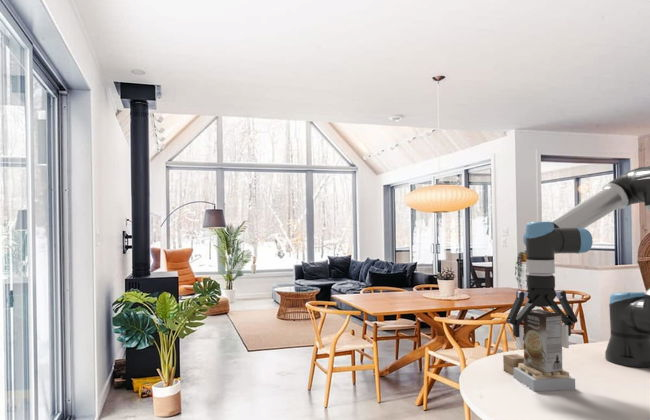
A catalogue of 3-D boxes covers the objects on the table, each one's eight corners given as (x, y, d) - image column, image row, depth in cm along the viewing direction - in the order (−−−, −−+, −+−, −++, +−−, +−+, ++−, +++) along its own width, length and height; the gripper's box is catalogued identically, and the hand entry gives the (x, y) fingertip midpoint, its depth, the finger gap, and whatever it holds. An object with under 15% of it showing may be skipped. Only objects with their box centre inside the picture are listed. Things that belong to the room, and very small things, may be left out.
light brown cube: (517, 369, 153) (517, 354, 153) (527, 374, 148) (527, 358, 149) (503, 371, 152) (503, 355, 152) (513, 375, 147) (513, 359, 147)
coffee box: (522, 364, 143) (521, 310, 144) (539, 362, 145) (538, 308, 146) (546, 373, 134) (544, 315, 135) (564, 370, 137) (562, 313, 137)
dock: (551, 376, 146) (551, 366, 146) (575, 389, 134) (575, 378, 134) (513, 377, 145) (513, 367, 145) (533, 391, 133) (533, 380, 133)
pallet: (550, 367, 145) (550, 362, 145) (569, 377, 135) (569, 372, 135) (518, 368, 144) (518, 363, 144) (535, 378, 134) (534, 373, 134)
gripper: (574, 272, 145) (575, 343, 145) (493, 273, 144) (495, 345, 143) (589, 274, 138) (591, 349, 137) (504, 276, 136) (506, 352, 135)
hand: (542, 347), depth 140 cm, fingers open, 13 cm apart
